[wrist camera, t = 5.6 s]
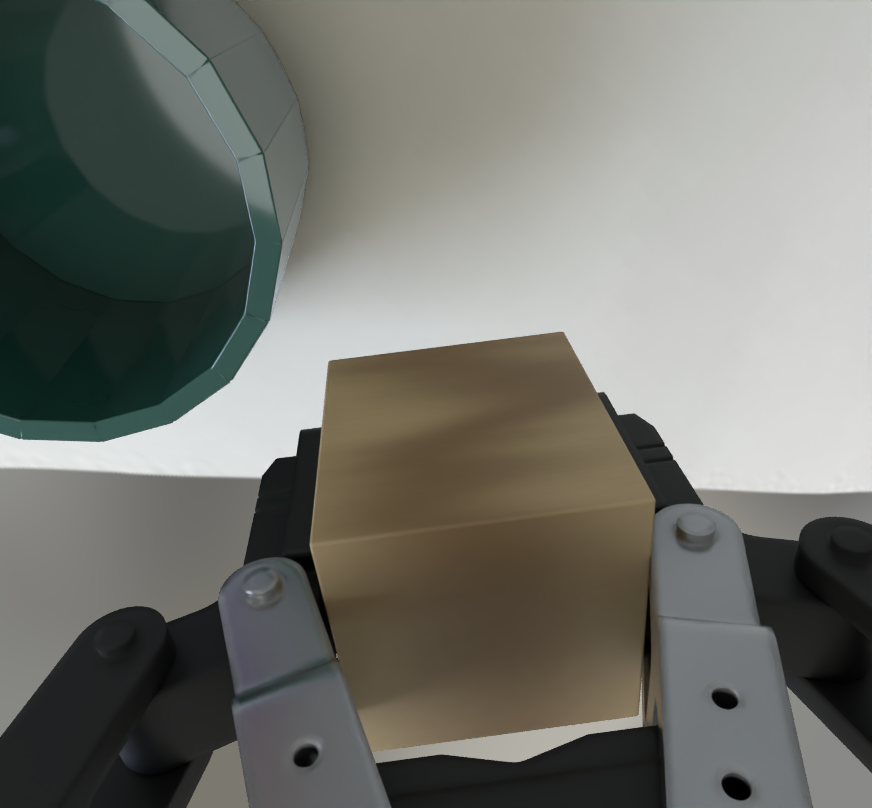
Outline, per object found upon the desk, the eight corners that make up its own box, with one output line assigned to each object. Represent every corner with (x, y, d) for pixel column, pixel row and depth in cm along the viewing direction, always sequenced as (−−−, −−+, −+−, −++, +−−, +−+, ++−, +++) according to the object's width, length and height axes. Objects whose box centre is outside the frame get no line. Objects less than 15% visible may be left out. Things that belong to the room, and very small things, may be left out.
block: (563, 330, 13) (657, 499, 9) (564, 512, 16) (639, 716, 11) (328, 360, 13) (308, 544, 9) (363, 538, 15) (362, 754, 11)
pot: (266, -90, 25) (207, -123, 16) (333, 297, 33) (318, 418, 24) (-149, -49, 25) (-441, -60, 16) (16, 331, 33) (-118, 466, 24)
